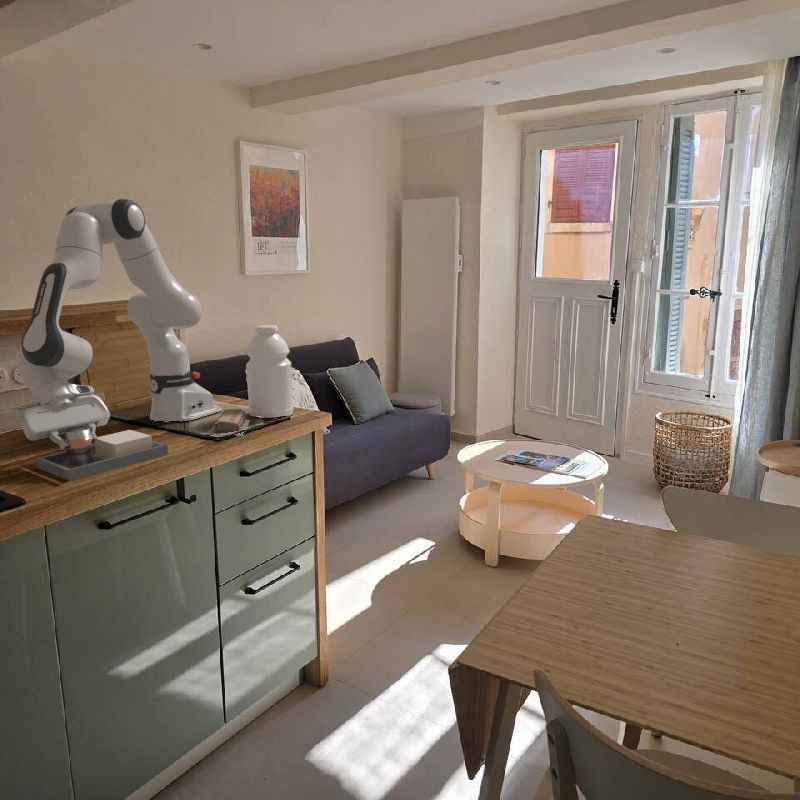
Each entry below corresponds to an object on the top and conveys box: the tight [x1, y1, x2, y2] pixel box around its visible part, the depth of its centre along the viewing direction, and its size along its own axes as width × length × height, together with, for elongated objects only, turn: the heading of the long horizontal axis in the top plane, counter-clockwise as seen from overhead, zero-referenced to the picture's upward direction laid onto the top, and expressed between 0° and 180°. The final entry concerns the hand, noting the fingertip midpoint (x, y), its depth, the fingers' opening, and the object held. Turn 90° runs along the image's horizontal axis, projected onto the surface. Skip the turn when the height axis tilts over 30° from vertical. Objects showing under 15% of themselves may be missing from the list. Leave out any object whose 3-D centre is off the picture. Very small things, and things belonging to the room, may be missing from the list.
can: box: [64, 427, 93, 466], centre depth 176 cm, size 6×6×8 cm
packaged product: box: [206, 408, 246, 437], centre depth 211 cm, size 18×5×10 cm
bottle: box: [245, 324, 294, 417], centre depth 226 cm, size 14×14×28 cm
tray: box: [35, 440, 169, 482], centre depth 181 cm, size 26×16×3 cm, turn 141°
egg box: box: [94, 429, 153, 460], centre depth 185 cm, size 10×10×5 cm
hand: (80, 444), depth 175 cm, fingers closed on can, 6 cm apart
